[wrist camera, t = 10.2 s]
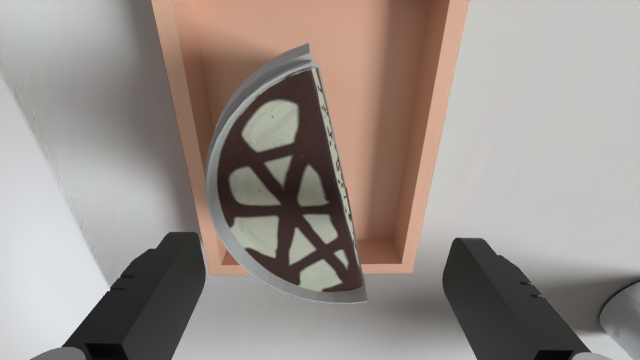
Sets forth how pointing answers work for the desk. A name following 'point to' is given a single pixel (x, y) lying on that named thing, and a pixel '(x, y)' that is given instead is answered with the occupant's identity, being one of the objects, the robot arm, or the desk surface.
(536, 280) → the desk surface
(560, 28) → the desk surface
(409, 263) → the terracotta dish
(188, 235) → the robot arm
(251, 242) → the food container
